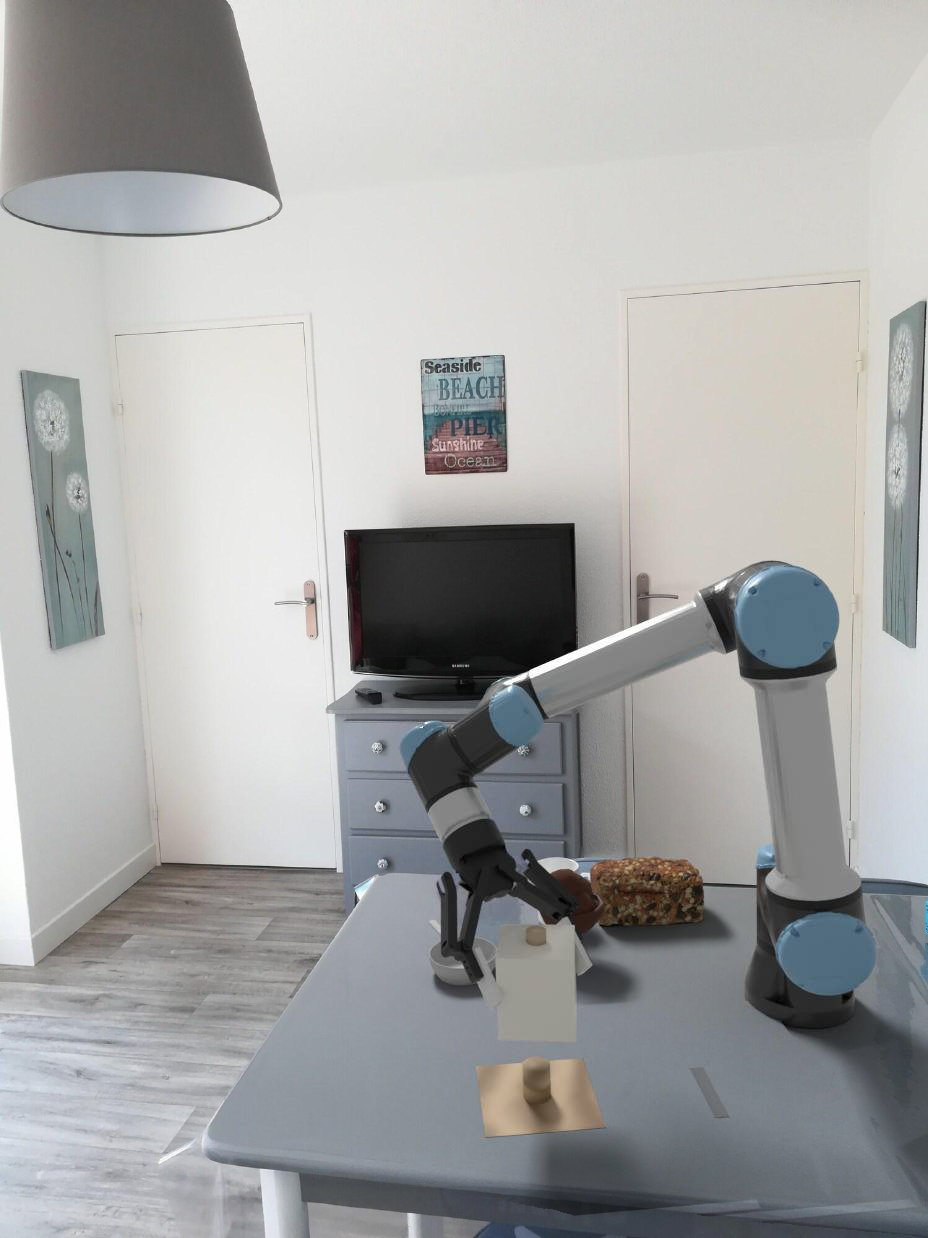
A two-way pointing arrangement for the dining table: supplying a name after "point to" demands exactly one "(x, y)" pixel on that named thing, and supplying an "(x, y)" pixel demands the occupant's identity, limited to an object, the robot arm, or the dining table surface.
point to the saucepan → (454, 969)
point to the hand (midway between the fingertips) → (542, 988)
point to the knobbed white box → (536, 983)
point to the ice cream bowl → (589, 900)
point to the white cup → (555, 865)
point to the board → (517, 1116)
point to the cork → (536, 1080)
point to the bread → (648, 891)
